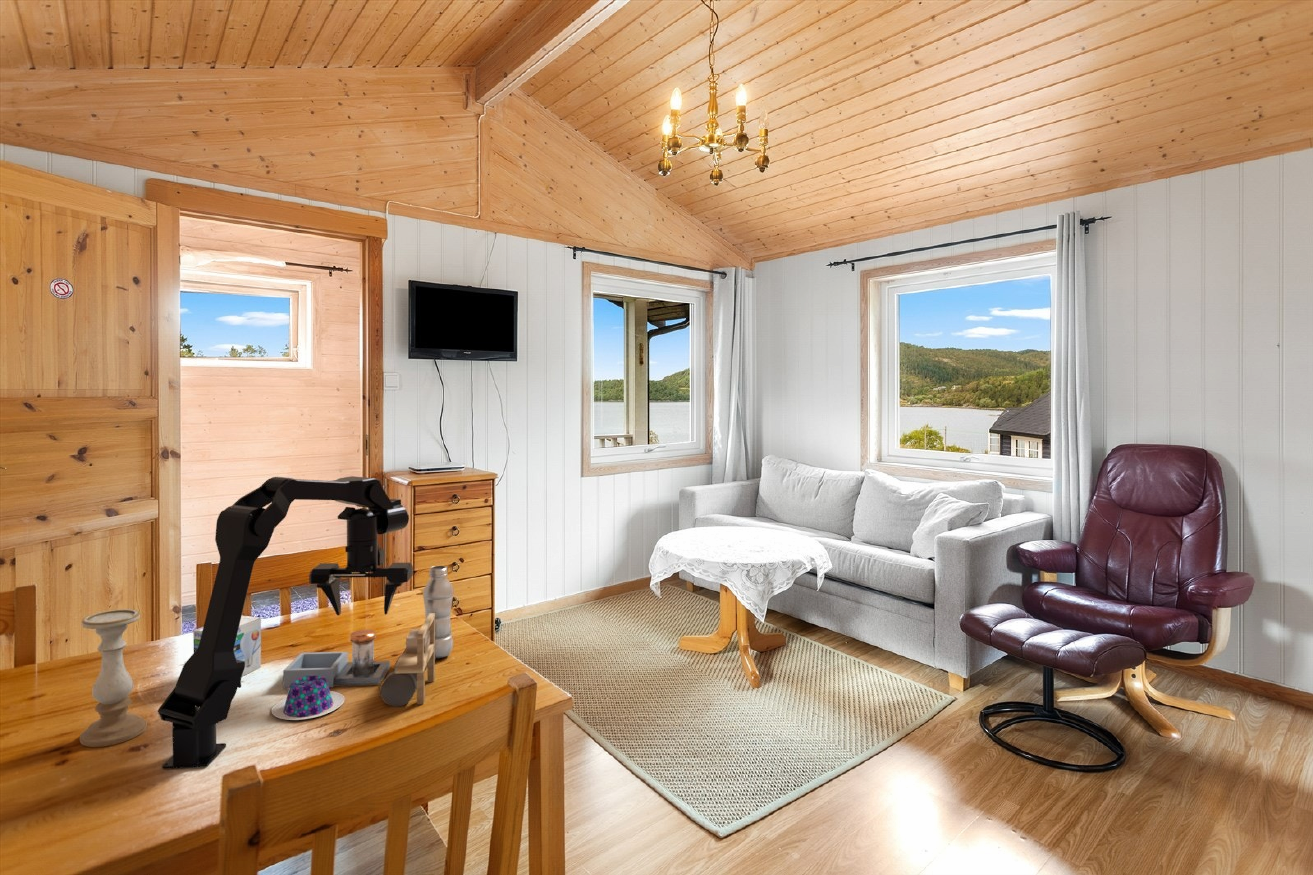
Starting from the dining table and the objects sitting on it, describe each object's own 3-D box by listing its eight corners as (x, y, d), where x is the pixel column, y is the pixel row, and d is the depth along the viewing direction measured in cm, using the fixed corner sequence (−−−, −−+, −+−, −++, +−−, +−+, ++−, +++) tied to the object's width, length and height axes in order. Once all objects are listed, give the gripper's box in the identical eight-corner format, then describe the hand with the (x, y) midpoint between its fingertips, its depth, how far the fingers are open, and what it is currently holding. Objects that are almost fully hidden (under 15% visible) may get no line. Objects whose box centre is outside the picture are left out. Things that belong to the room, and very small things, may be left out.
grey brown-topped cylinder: (372, 681, 138) (372, 637, 137) (347, 682, 137) (347, 638, 136) (378, 671, 142) (378, 629, 142) (354, 672, 142) (354, 630, 141)
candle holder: (138, 717, 120) (136, 604, 119) (153, 733, 115) (151, 615, 114) (74, 735, 114) (70, 616, 112) (87, 753, 108) (83, 628, 107)
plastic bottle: (415, 658, 150) (415, 568, 149) (438, 648, 156) (438, 562, 155) (436, 664, 147) (437, 573, 146) (459, 654, 153) (460, 566, 152)
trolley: (422, 705, 128) (423, 633, 127) (380, 707, 127) (380, 634, 126) (435, 678, 140) (435, 612, 139) (396, 679, 139) (396, 613, 138)
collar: (379, 684, 136) (379, 677, 136) (334, 686, 135) (334, 678, 135) (390, 667, 144) (390, 660, 144) (347, 669, 143) (347, 662, 143)
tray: (333, 687, 135) (332, 669, 134) (283, 688, 133) (283, 670, 133) (347, 668, 144) (347, 651, 143) (301, 669, 142) (301, 652, 142)
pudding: (310, 690, 134) (310, 663, 133) (358, 700, 130) (358, 673, 129) (255, 716, 122) (255, 688, 122) (306, 729, 118) (306, 699, 118)
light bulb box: (221, 687, 133) (220, 633, 132) (191, 684, 134) (191, 630, 134) (262, 666, 144) (262, 616, 143) (235, 663, 145) (235, 613, 144)
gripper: (418, 530, 147) (418, 601, 148) (327, 530, 144) (327, 603, 146) (406, 541, 136) (406, 618, 137) (307, 542, 133) (308, 620, 135)
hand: (362, 614), depth 139 cm, fingers open, 9 cm apart
